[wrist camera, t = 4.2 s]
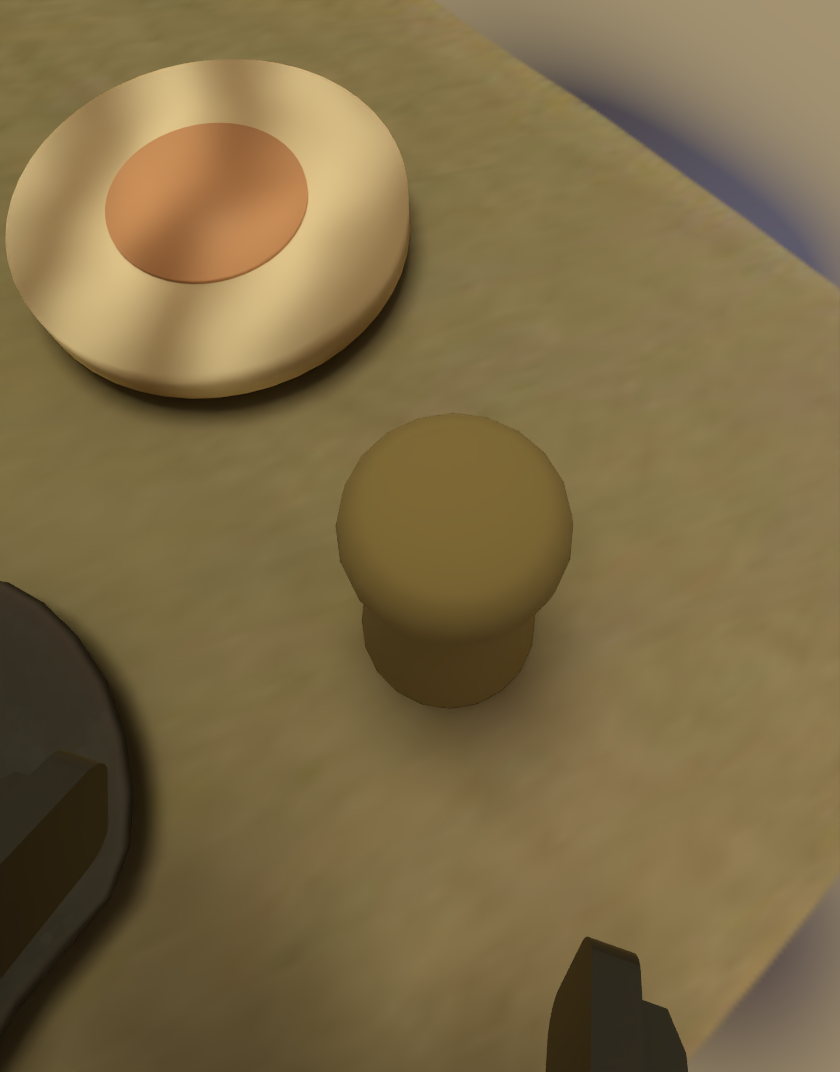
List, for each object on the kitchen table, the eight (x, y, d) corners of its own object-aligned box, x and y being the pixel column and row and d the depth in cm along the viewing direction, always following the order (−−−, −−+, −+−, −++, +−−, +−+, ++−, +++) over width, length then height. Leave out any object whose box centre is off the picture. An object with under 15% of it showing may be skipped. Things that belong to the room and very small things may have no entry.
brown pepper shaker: (529, 537, 25) (595, 366, 15) (539, 708, 23) (623, 649, 12) (364, 539, 25) (311, 370, 15) (359, 708, 23) (295, 651, 13)
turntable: (1, 407, 27) (-46, 367, 25) (83, 112, 33) (52, 53, 30) (402, 416, 27) (398, 376, 24) (418, 114, 32) (416, 54, 29)
